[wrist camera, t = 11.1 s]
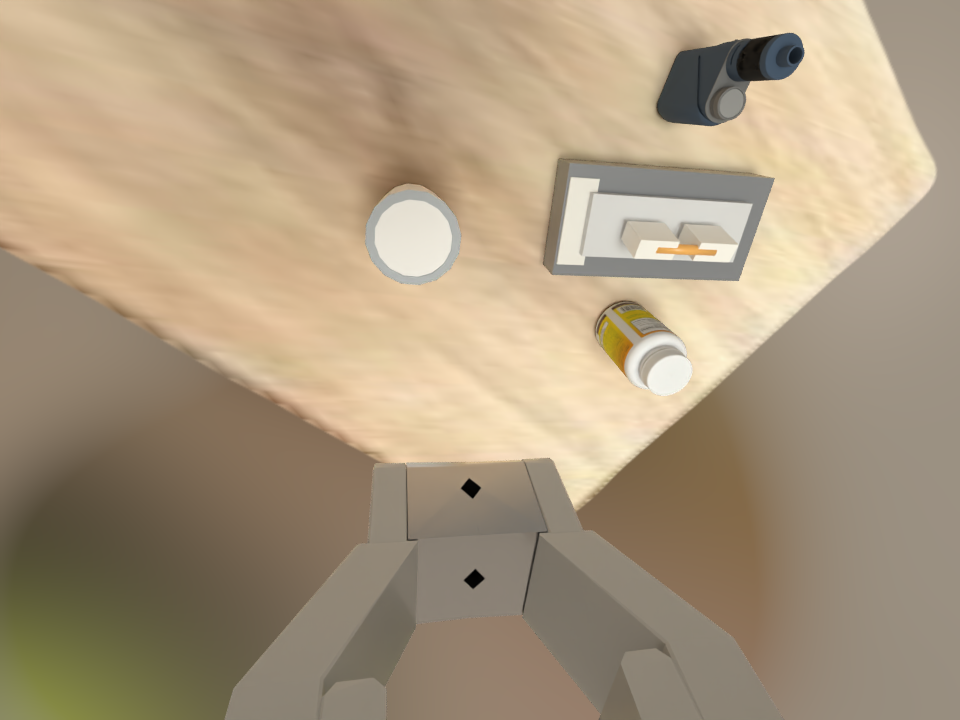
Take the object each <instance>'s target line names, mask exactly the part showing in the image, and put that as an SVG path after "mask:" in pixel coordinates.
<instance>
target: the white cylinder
mask: <svg viewBox="0 0 960 720" xmlns="http://www.w3.org/2000/svg"><path fill="white" fill-rule="evenodd" d="M460 242H461V233H460V229H459V225H458V222H457V218H456V216H455V215H454V214H453V212H452V211H451V210H450V208H449V207H448V206H447V204H446V203H445V202H444V201H443V200H442V199H441V198H439V197H438V196H437V195H436V194H435V193H434V192H432V191H430V190H429V189H427V188H425V187H424V186H422V185H416V184H409V183H407V184H404V185H400V186H397V187H394V188H393V189H392V190H391V191H390V192H388V193H387V194H386V195H385V196H384V197H383V198H382V199H381V200H380V202H379V203H378V204H377V205H376V206H375V207H374V209H373V211H372V213H371V216H370V218H369V220H368V222H367V224H366V240H365V244H366V247H367V250H368V252H369V255H370V257H371V260H372V262H373V263H374V264H375V265H376V266H377V267H378V269H379V270H380V271H381V272H382V273H383V274H384V275H385V276H387V277H389V278H391V279H393V280H395V281H397V282H399V283H403V284H414V285H421V284H424V283H428V282H431V281H434V280H437V279H438V278H439V277H441V276H442V275H443V274H445V273H446V272H447V271H448V270H450V268H451V267H452V265H453V263H454V261H455V260H456V258H457V256H458V254H459V250H460Z"/></svg>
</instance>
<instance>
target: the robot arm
mask: <svg viewBox="0 0 960 720" xmlns="http://www.w3.org/2000/svg"><path fill="white" fill-rule="evenodd" d="M510 615H523V619H524V620H525V621H526V622H527V624H528V625H529V626H530V627H531V629H532V630H533V631H534V632H535V634H536V635H537V636H538V637H539V639H540V640H541V641H542V642H543V643H544V645H545V646H546V647H547V648H548V650H549V651H550V652H551V653H552V655H553V656H554V657H555V658H556V659H557V661H558V662H559V663H560V664H561V666H562V667H563V668H564V669H565V671H566V672H567V673H568V674H569V676H570V677H571V678H572V679H573V680H574V682H575V683H576V684H577V685H578V687H579V688H580V689H581V690H582V691H583V693H584V694H585V695H586V696H587V698H588V699H589V700H590V701H591V703H592V704H593V705H594V706H595V707H596V709H597V710H598V711H599V712H600V714H601V715H600V718H599V720H784V719H783V717H782V715H781V714H780V712H779V710H778V709H777V707H776V706H775V704H774V702H773V701H772V699H771V697H770V696H769V694H768V693H767V691H766V689H765V688H764V686H763V685H762V683H761V682H760V680H759V678H758V676H757V675H756V673H755V672H754V670H753V668H752V667H751V665H750V664H749V662H748V660H747V659H746V657H745V655H744V654H743V652H742V651H741V649H740V647H739V646H738V644H737V642H736V641H735V639H734V638H733V637H732V636H730V635H729V634H728V633H726V632H725V631H724V630H723V629H721V628H720V627H719V626H717V625H716V624H715V623H713V622H712V621H711V620H709V619H708V618H707V617H705V616H704V615H703V614H702V613H700V612H699V611H698V610H696V609H695V608H693V607H692V606H691V605H690V604H688V603H687V602H686V601H684V600H683V599H682V598H680V597H679V596H678V595H677V594H675V593H674V592H673V591H671V590H670V589H669V588H667V587H666V586H665V585H663V584H662V583H661V582H659V581H658V580H657V579H656V578H654V577H653V576H652V575H650V574H649V573H648V572H646V571H645V570H644V569H642V568H641V567H640V566H639V565H637V564H636V563H635V562H633V561H632V560H631V559H629V558H628V557H627V556H625V555H624V554H623V553H621V552H620V551H619V550H617V549H616V548H615V547H614V546H612V545H611V544H610V543H608V542H607V541H605V540H604V539H603V538H602V537H600V536H599V535H598V534H596V533H595V532H594V531H592V530H591V531H583V528H582V526H581V524H580V522H579V519H578V517H577V514H576V512H575V510H574V508H573V505H572V503H571V501H570V498H569V496H568V494H567V491H566V489H565V487H564V484H563V482H562V480H561V477H560V475H559V473H558V470H557V468H556V466H555V463H554V461H552V460H551V459H550V458H539V459H522V460H509V461H484V462H427V463H406V464H405V463H378V464H375V466H374V469H373V477H372V492H371V505H370V517H369V531H368V543H366V544H357V545H356V546H355V548H354V549H353V550H352V551H351V552H350V553H349V555H348V556H347V557H346V558H345V559H344V561H343V562H342V563H341V564H340V565H339V566H338V567H337V569H336V570H335V571H334V572H333V574H332V575H331V576H330V577H329V578H328V579H327V580H326V581H325V583H324V584H323V585H322V586H321V587H320V589H319V590H318V591H317V592H316V593H315V594H314V595H313V597H312V598H311V599H310V600H309V601H308V602H307V604H306V605H305V606H304V607H303V608H302V609H301V611H300V612H299V613H298V614H297V615H296V617H295V618H294V619H293V620H292V621H291V622H290V623H289V624H288V626H287V627H286V628H285V629H284V630H283V631H282V633H281V634H280V635H279V636H278V637H277V638H276V640H275V641H274V642H273V643H272V644H271V645H270V647H269V648H268V649H267V650H266V651H265V653H264V654H263V655H262V656H261V657H260V658H259V660H258V661H257V662H256V663H255V664H254V665H253V667H252V668H251V669H250V670H249V671H248V672H247V673H246V675H245V676H244V677H243V678H242V679H241V680H240V682H239V683H238V684H237V685H236V686H235V687H234V689H233V693H232V696H231V699H230V703H229V706H228V710H227V713H226V717H225V720H387V695H386V694H387V692H386V691H387V690H386V688H385V686H386V684H387V682H388V680H389V678H390V676H391V674H392V672H393V671H394V669H395V666H396V665H397V663H398V661H399V659H400V657H401V655H402V653H403V651H404V649H405V648H406V646H407V644H408V642H409V640H410V638H411V636H412V634H413V632H414V630H415V628H416V624H421V623H429V622H438V621H446V620H455V619H464V618H474V617H475V618H476V617H493V616H510Z"/></svg>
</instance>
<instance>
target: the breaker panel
mask: <svg viewBox="0 0 960 720" xmlns="http://www.w3.org/2000/svg"><path fill="white" fill-rule="evenodd" d="M774 179H775V178H771V177H766V176H762V175H757V174H752V173H740V172H727V171H714V170H701V169H687V168H674V167H661V166H648V165H635V164H622V163H609V162H596V161H583V160H570V159H559V161H558V167H557V174H556V181H555V187H554V194H553V201H552V208H551V214H550V221H549V228H548V235H547V241H546V248H545V255H544V262H543V265H544V266H545V267H546V268H547V269H548V270H549V272H550V273H551V274H552V275H575V276H605V277H635V278H664V279H694V280H723V281H739V278H740V275H741V273H742V270H743V267H744V264H745V261H746V258H747V256H748V253H749V250H750V247H751V244H752V241H753V239H754V236H755V233H756V230H757V227H758V224H759V222H760V219H761V216H762V213H763V210H764V207H765V205H766V202H767V199H768V196H769V193H770V190H771V188H772V185H773V182H774ZM627 221H638V222H656V223H665V224H666V225H667V227H668V228H669V229H670V230H671V232H672V233H673V234H674V235H675V236H676V238H677V239H678V238H679V236H680V234H681V232H682V229H683V227H684V225H685V224H692V225H710V226H721V227H722V228H723V229H724V230H725V231H726V232H727V233H728V234H729V235H730V236H731V237H732V238H733V240H734V241H735V242H736V243H737V244H738V247H737V249H736V251H735V252H734V254H733V256H732V258H731V260H730V262H705V261H692V259H691V258H690V257H689V256H688V255H676V254H674V257H673V259H672V260H656V259H634V258H633V256H632V255H631V253H630V252H629V250H628V249H627V247H626V246H625V244H624V243H623V241H622V240H621V238H622V235H623V232H624V229H625V227H626V224H627Z"/></svg>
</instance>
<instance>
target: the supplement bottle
mask: <svg viewBox="0 0 960 720" xmlns="http://www.w3.org/2000/svg"><path fill="white" fill-rule="evenodd" d="M596 338H597V341H598V342H599V344H600V345H601V347H602V348H603V349H604V350H605V352H606V353H607V354H608V355H609V356H610V358H611V359H612V360H613V361H614V363H615V364H616V365H617V366H618V367H619V369H620V370H621V371H622V372H623V373H624V375H625V376H626V377H627V378H628V379H629V381H630V382H631V383H632V384H634V385H635V386H637V387H639V388H642V389H649V390H650V391H651V392H653V393H654V394H656V395H660V396H667V395H671V394H674V393H676V392H678V391H680V390H681V389H682V388H684V387H685V386H686V384H687V383H688V382H689V380H690V378H691V375H692V364H691V362H690V361H689V359H688V358H687V351H686V347H685V345H684V343H683V341H682V340H681V339H680V338H679V337H678V336H677V335H675V334H674V333H673V332H672V331H671V330H669V329H668V328H667V327H666V326H665V325H664V324H662V323H661V322H660V321H659V320H658V319H656V318H655V317H654V316H653V315H652V314H650V313H649V312H648V311H647V310H646V309H645V308H643V307H642V306H640V305H639V304H637V303H634V302H621V303H617V304H615V305H613V306H611V307H609V308H608V309H607V310H606V311H605V312H604V313H603V314H602V315H601V317H600V318H599V320H598V322H597V326H596Z"/></svg>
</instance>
